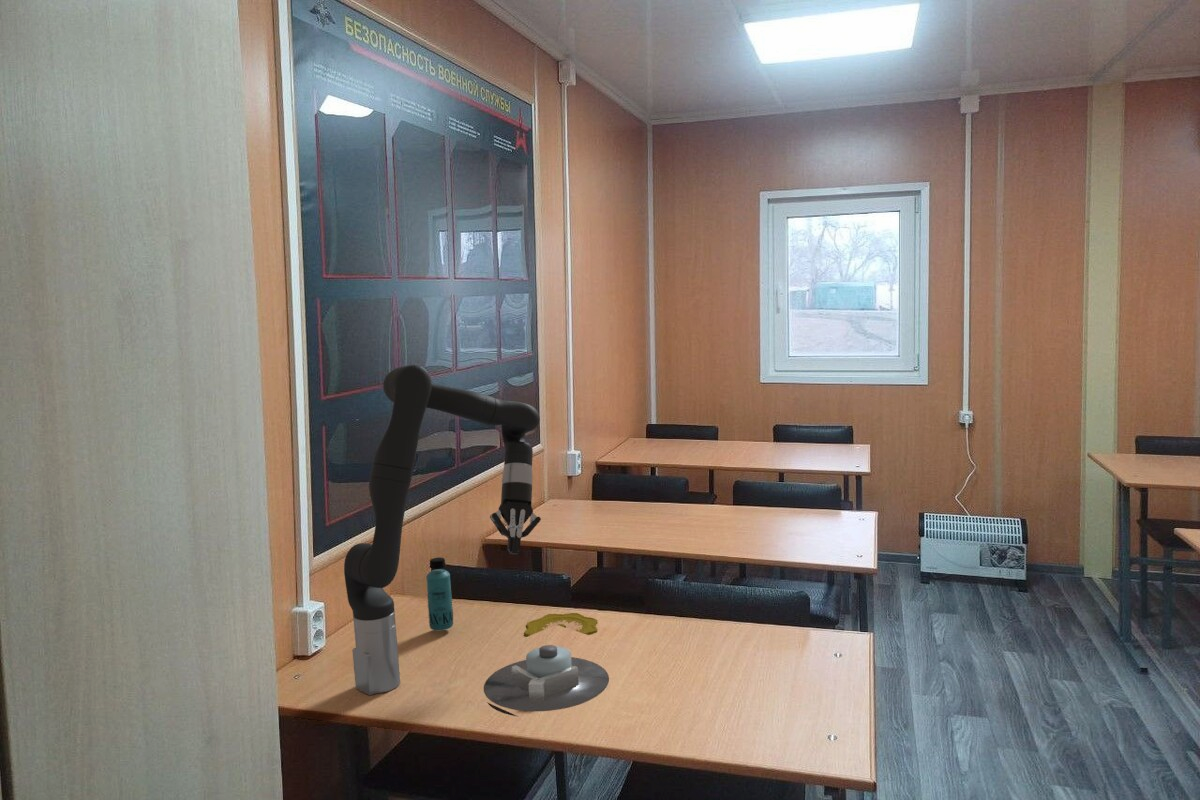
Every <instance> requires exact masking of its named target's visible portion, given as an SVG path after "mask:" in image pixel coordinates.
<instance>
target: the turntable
mask: <svg viewBox="0 0 1200 800" xmlns="http://www.w3.org/2000/svg"><path fill="white" fill-rule="evenodd" d="M571 665H572V667H570V668H567V669H564V670H561V671H558V672H556V673H553V674H550V675H547V676H544V677H541V678H537V677H536V676H534V675H532V674H531V673H529V672H527V663H526V659H523V660H520V661H517V662H513V663H511V664H508V665H506V666H504V667H502V668H499V669H498V670H496V671H494V672H493V673H492V674H491V675H489V676H488V678H487V679H486V680H485V682H484V684H483V692H484V695H485V696H486V698H487V699H488V700H490V701H491V702H492V703H494V704H492V703H490V702H488V701H487V702H486V703H487V704H488V706H489V707H491V708H492V709H494V710H496V711H497V712H500V713H503V714H505V715H509V716H513V717H519V716H518V715H516V714H514V713H511V712H510V711H507V710H505V709H503V708H506V709H510V710H515V711H522V712H547V711H548V712H550V711H557V710H563V709H568V708H571V707H576V706H578V705H581V704H584V703H587V702H589V701H591V700H593V699H594V698H596V697H598V696H600V695H601V693H603V692H604V691H605V689H607V687H608V685H609V682H610V676H609V674H608V671H606V669H605V668H604V667H602V666H601V665H600V664H598V663H595V662H593V661H591V660H588V659H584V658H579V657H575V656H571ZM497 705H498V706H501V707H503V708H501V707H498V706H497Z"/></svg>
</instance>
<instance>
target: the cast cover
mask: <svg viewBox="0 0 1200 800" xmlns="http://www.w3.org/2000/svg"><path fill="white" fill-rule="evenodd" d="M571 657H572V652H571V651H570V649H568V648H566V647H563V646H556V645H553V644H546V645H542V646H540V647H537V648H535V649H532V650H530V651H529V652H528V653H526V655H525V660H526V663H527V672H529V673H531V674H532V675H534V676H536V677H537V678H541V677H544V676H547V675H550V674H553V673H556V672H558V671H561V670H564V669H567V668H570V667H572V665H571Z"/></svg>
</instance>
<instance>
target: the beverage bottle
mask: <svg viewBox="0 0 1200 800" xmlns="http://www.w3.org/2000/svg"><path fill="white" fill-rule="evenodd" d="M445 567H446V560H445V558H444V557H433V558H431V559H430V560H429V568H430V569H432V570H430V571H429V572H428V574H426V577H425V578H426V587H427V602H426V603H427V608H428V617H427V618H428V623H429V628H430V629H431V630H433V631H446V630H448V629H451V628H452V627H453V626H454V621H455V620H454V608H453V598H452V597H453V594H452V588H451V587H452V584H451V583H452V582H451V573H450V572H449V571H448V570H446V569H444V568H445Z"/></svg>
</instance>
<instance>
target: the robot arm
mask: <svg viewBox="0 0 1200 800" xmlns="http://www.w3.org/2000/svg"><path fill="white" fill-rule="evenodd" d="M382 387H383V392H384V394H385V396H386V398H387V399H388V400H390V401H391V402H392V403H393V405H392V411H391V412H392V413H391V415H390V416H391V417H390V421H389V424H388V426H387V429H386V430H385V433H384V435H383V437H382V439H381V440H380V443H379V445H378V447H377V450H376V452H375V454H374V457H373V461H372V465H371V470H370V474H369V475H370V476H369V481H368V491H369V496H370V500H371V505H372V508H373V512H374V518H375V519H374V521H375V522H374V524H375V525H374V533H373V539H372V543H367V542H361V543H356V544H354V545H353V546H351V547H350V548H349V550H348V551H347V553H346V555H345V557H344V558H345V559H344V562H343V563H344V564H343V574H344V581H345V590H346V594H347V595H346V596H347V602H348V605H349V606H350V608H351V611H352V617H353V618H352V619H353V629H354V640H355V647H353V648H352V650H351V651H352V661H353V672H354V682H355V683H354V685H355V690H356V689H357V690H358V691H360V692H362V693H364V694H366V695H368V696H372V695H374V694H382V693H386V692H389V691H392V690H394V689H396V688H397V687H399V685H400V684H401V676H400V675H401V672H400V661H399V650H398V649H399V648H398V637H397V624H396V623H397V621H396V613H395V612H396V611H395V601H394V599H393V597H391V595H389V593H387V592H386V591H385V590H384V588H386V587H387V586H390V584H391V583H393V581H394V579H395V578H396V574H397V573H398V568H399V563H400V555H401V554H400V553H401V545H402V543H401V542H402V532H403V523H404V520H405V519H404V518H405V511H406V507H407V500H408V495H409V490H410V487H411V482H412V477H413V470H414V466H415V460H416V454H417V449H418V444H419V437H420V433H421V432H420V431H421V427H422V422H423V419H424V415H425V412H426V409H431V410H434V411H435V410H436V411H440V412H443V413H447V414H450V415H453V416H455V417H460V418H462V419H466V420H468V421H469V420H470V421H472V422H476V423H479V424H482V425H487V426H490V427H491V426H492V427H495V426H496V427H497V426H500V427H501V429H500V430H501V435H502V442H503V445H504V459H503V460H504V462H503V464H504V465H503V470H502V478H501V495H500V497H501V499H500V504H499V506H498V510H496V512H493V513H491V514H490V515H489V518H490V520H491V522H492V523H493V524H494V526H495V527H496V529H497V531H498V532H499V533H500V535H501V536H503V537H506V538H507V552H509V554H510V555H517V554H518V553H519V552H520V551H521V544H522V543H521V541H522V538H525V537H527V536H529V535H530V534H531V533H532V531H533V530H534V529H535V527H537V525H538V524H539V523H540V522H541V520H542V519H541V517H540V516H537V515H536V514H535V513H534V509H533V507H532V502H533V478H534V477H533V476H534V475H533V456H534V455H533V454H534V450H533V445H531V444H530V443H529V442H527V441H526V434H528V433H529V432H530V433H531V432H532V431H534V430H535V429H537V427H538V426H539V424H540V421H541V420H540V419H541V418H540V414H539V412H538V410H537V409H536V408H535V407H534V406H532V405H531V404H528V403H526V402H521V401H513V400H507V399H506V400H505V399H499V398H496V397H493V396H490V395H486V394H484V393H480V392H477V391H472V390H467V389H461V388H456V387H450V386H446V385H442V384H438V383H435V382H433V381H432V378H431V375H430V373H429V372H428V371H427V369H426V368H425V367H423V366H422V365H418V364H409V365H405V366H400V367H395V368H394V369H393V370H390V371H389V372H388V374H386V376H385V378H384V379H383V385H382ZM502 519H503V520H504V522H505V523H506V526H505V524H504V522H503V521H502ZM528 520H529V525H527V527H526V528H525V529H524V530H523V528H524V524H526V522H527V521H528Z"/></svg>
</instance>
